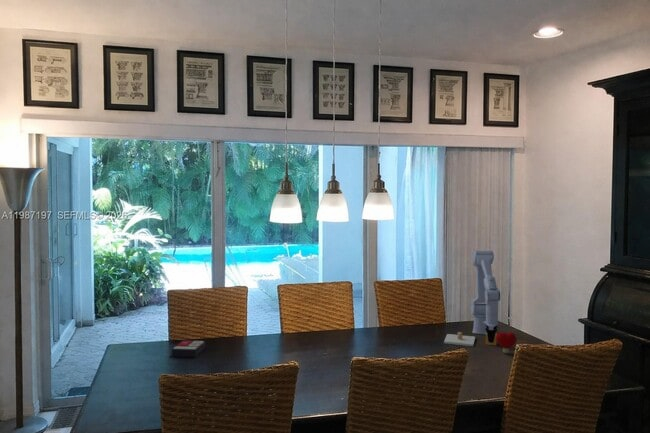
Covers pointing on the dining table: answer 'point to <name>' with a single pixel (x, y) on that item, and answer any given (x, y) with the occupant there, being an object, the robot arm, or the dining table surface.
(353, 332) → the dining table surface
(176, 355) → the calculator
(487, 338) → the tilted mustard cube
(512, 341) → the dark red rounded lump
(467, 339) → the plate
